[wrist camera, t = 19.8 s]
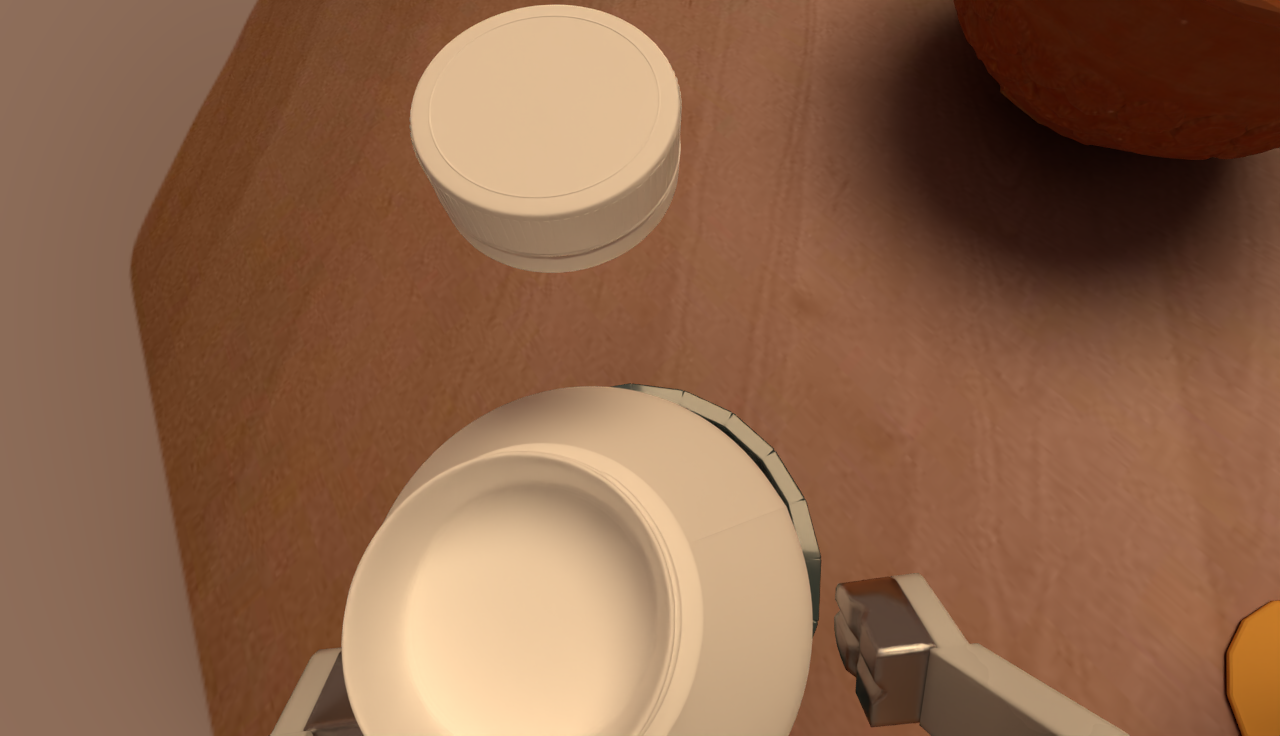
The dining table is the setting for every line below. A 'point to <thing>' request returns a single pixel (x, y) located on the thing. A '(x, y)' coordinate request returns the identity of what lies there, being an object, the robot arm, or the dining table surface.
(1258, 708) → the cup
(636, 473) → the water bottle
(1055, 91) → the bowl
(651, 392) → the holder
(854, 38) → the dining table surface
